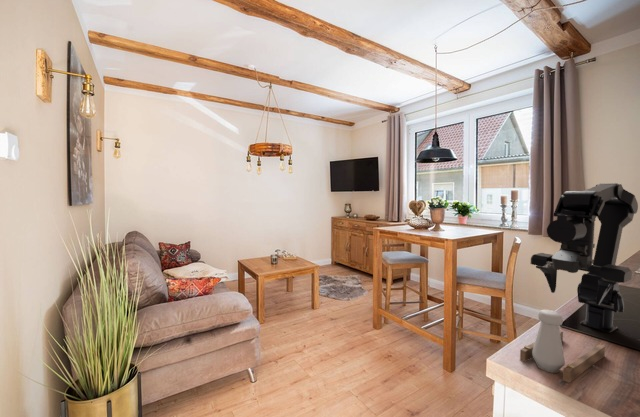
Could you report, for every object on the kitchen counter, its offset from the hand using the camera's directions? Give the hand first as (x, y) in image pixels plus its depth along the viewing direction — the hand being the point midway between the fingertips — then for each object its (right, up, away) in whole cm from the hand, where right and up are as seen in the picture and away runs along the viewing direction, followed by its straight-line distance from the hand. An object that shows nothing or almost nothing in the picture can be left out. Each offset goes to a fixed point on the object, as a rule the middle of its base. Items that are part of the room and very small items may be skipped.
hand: (574, 298), depth 73 cm
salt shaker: (-15, -13, -10) cm, 22 cm away
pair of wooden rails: (-8, -12, -6) cm, 16 cm away
